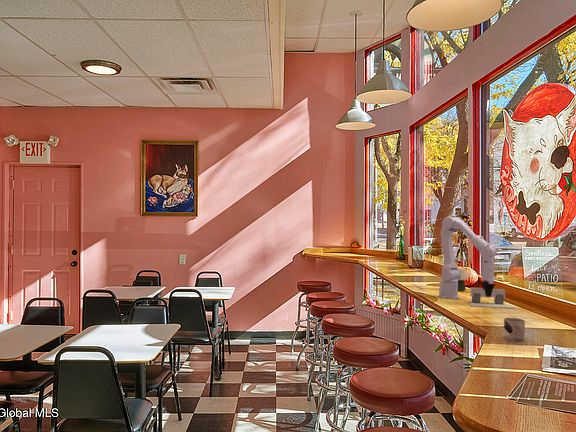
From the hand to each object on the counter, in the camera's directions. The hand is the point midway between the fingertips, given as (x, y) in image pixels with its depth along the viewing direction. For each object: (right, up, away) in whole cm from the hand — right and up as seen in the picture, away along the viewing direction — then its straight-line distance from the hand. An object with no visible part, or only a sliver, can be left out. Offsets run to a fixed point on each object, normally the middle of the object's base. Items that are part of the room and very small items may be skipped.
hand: (487, 296), depth 238 cm
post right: (+5, -4, -1) cm, 7 cm away
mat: (-2, -4, -8) cm, 9 cm away
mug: (-21, -3, -73) cm, 76 cm away
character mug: (+2, -4, +44) cm, 44 cm away
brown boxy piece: (-5, -4, +1) cm, 7 cm away
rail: (0, 0, 0) cm, 0 cm away
